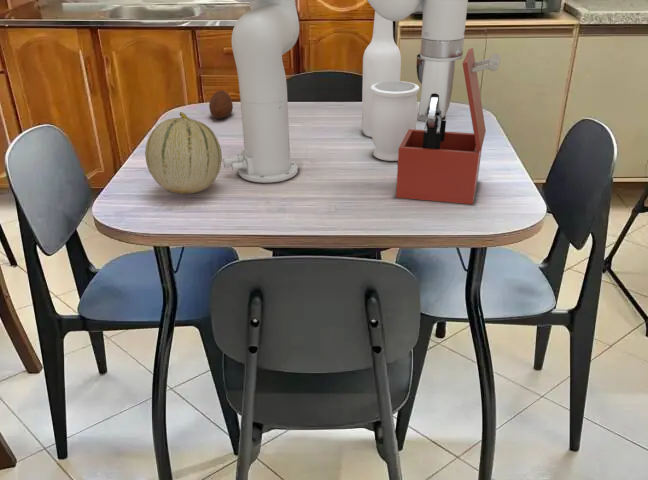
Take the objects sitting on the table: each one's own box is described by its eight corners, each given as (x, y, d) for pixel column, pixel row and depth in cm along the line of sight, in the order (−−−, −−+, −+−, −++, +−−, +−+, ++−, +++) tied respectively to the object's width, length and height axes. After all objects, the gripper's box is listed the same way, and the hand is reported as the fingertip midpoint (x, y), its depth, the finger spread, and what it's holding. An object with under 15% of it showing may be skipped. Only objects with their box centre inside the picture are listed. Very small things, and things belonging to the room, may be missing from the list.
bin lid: (462, 63, 116) (495, 55, 114) (468, 49, 125) (499, 41, 123) (476, 151, 124) (508, 145, 121) (481, 132, 133) (511, 126, 131)
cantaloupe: (155, 210, 130) (142, 131, 121) (148, 183, 141) (136, 109, 133) (231, 200, 133) (223, 123, 124) (218, 174, 145) (211, 102, 136)
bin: (396, 197, 133) (398, 147, 127) (405, 176, 142) (408, 128, 136) (472, 204, 129) (478, 153, 124) (477, 182, 139) (483, 133, 133)
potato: (206, 123, 175) (204, 97, 172) (213, 110, 185) (211, 85, 181) (230, 122, 175) (227, 97, 171) (235, 110, 185) (233, 85, 181)
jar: (412, 164, 148) (417, 93, 139) (365, 162, 149) (367, 91, 141) (416, 148, 156) (421, 80, 147) (372, 146, 158) (374, 79, 149)
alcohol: (395, 139, 162) (402, -1, 145) (359, 137, 163) (361, -1, 146) (398, 128, 169) (405, -7, 152) (363, 126, 170) (366, -7, 153)
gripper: (427, 38, 129) (420, 132, 139) (413, 57, 115) (406, 160, 125) (467, 39, 127) (457, 134, 137) (457, 59, 113) (447, 163, 123)
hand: (433, 146), depth 131 cm, fingers open, 6 cm apart
